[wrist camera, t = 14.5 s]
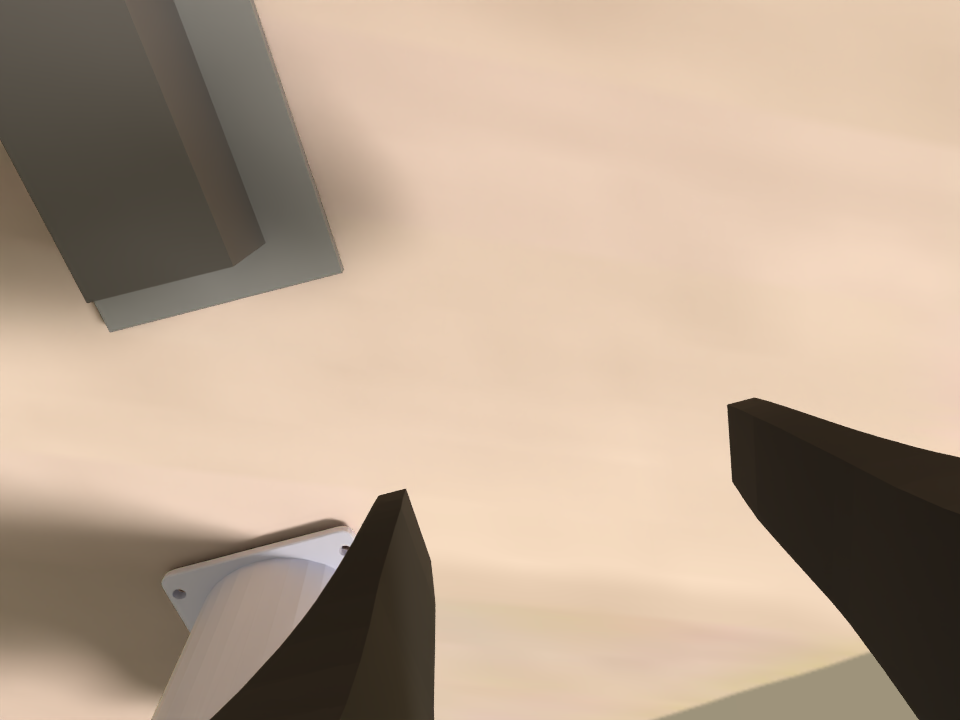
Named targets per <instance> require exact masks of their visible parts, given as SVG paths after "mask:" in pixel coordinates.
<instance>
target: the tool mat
mask: <svg viewBox="0 0 960 720" xmlns="http://www.w3.org/2000/svg"><path fill="white" fill-rule="evenodd" d="M174 2H175V5H176V8H177V10H178V13H179V16H180V18H181V21H182V24H183V26H184V29H185V31H186V34H187V37H188V39H189V42H190V45H191V47H192V50H193V53H194V55H195V58H196V60H197V63H198V66H199V68H200V71H201V74H202V76H203V79H204V82H205V84H206V87H207V89H208V92H209V95H210V97H211V100H212V103H213V105H214V108H215V111H216V113H217V116H218V118H219V121H220V124H221V126H222V129H223V132H224V134H225V137H226V140H227V142H228V145H229V147H230V150H231V153H232V155H233V158H234V161H235V163H236V166H237V169H238V171H239V174H240V176H241V179H242V182H243V184H244V187H245V190H246V192H247V195H248V198H249V200H250V203H251V205H252V208H253V211H254V213H255V216H256V219H257V221H258V224H259V226H260V229H261V232H262V234H263V237H264V240H265V242H266V243H265V244H264V245H262V246H261V247H260V248H258V249H257V250H256V251H254V252H253V253H252V254H250V255H249V256H247V257H246V258H245V259H243V260H242V261H241V262H239V263H238V264H236V265H235V266H234V267H230V268H226V269H222V270H218V271H214V272H210V273H206V274H202V275H198V276H194V277H190V278H186V279H182V280H178V281H174V282H170V283H166V284H162V285H158V286H154V287H150V288H146V289H142V290H138V291H134V292H130V293H126V294H122V295H118V296H114V297H110V298H106V299H102V300H98V301H94V303H95V305H96V307H97V309H98V311H99V313H100V315H101V317H102V318H103V320H104V322H105V324H106V326H107V328H108V330H109V332H114V331H118V330H122V329H125V328H129V327H133V326H137V325H141V324H145V323H149V322H153V321H157V320H161V319H164V318H168V317H172V316H176V315H180V314H184V313H188V312H192V311H196V310H199V309H203V308H207V307H211V306H215V305H219V304H223V303H227V302H231V301H234V300H238V299H242V298H246V297H250V296H254V295H258V294H262V293H266V292H270V291H273V290H277V289H281V288H285V287H289V286H293V285H297V284H301V283H305V282H308V281H312V280H316V279H320V278H324V277H328V276H332V275H336V274H340V273H342V272H343V270H344V268H343V265H342V263H341V260H340V257H339V254H338V251H337V248H336V245H335V242H334V239H333V236H332V233H331V230H330V227H329V224H328V221H327V218H326V215H325V212H324V209H323V206H322V203H321V200H320V197H319V194H318V191H317V188H316V185H315V182H314V179H313V176H312V173H311V170H310V167H309V164H308V162H307V159H306V156H305V153H304V150H303V147H302V144H301V141H300V138H299V135H298V132H297V129H296V126H295V123H294V120H293V117H292V114H291V111H290V108H289V105H288V102H287V99H286V96H285V93H284V90H283V87H282V84H281V81H280V78H279V75H278V72H277V69H276V66H275V63H274V61H273V58H272V55H271V52H270V49H269V46H268V43H267V40H266V37H265V34H264V31H263V28H262V25H261V22H260V19H259V16H258V13H257V10H256V7H255V4H254V1H253V0H174Z"/></svg>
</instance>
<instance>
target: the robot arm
mask: <svg viewBox="0 0 960 720" xmlns="http://www.w3.org/2000/svg"><path fill="white" fill-rule="evenodd" d="M727 408H728V424H729V439H730V454H731V469H732V482H733V483H734V485H735V486H736V488H737V489H738V491H739V492H740V494H741V496H742V497H743V499H744V500H745V502H746V503H747V505H748V506H749V507H750V509H751V510H752V512H753V513H754V514H755V516H756V517H757V519H758V520H759V521H760V522H761V523H762V525H763V526H764V527H765V528H766V529H767V530H768V532H769V533H770V534H771V535H772V536H773V537H774V538H775V539H776V541H777V542H778V543H779V544H780V545H781V546H782V547H783V548H784V550H785V551H786V552H787V553H788V554H789V555H790V556H791V557H792V558H793V560H794V561H795V562H796V563H797V564H798V565H799V566H800V567H801V568H802V570H803V571H804V572H805V573H806V574H807V575H808V576H809V577H810V578H811V580H812V581H813V582H814V583H815V584H816V585H817V586H818V587H819V588H820V589H821V591H822V592H823V593H824V594H825V595H826V596H827V597H828V598H829V599H830V601H831V602H832V603H833V604H834V605H835V606H836V608H837V609H838V610H839V611H840V612H841V614H842V615H843V616H844V617H845V618H846V620H847V621H848V622H849V623H850V625H851V626H852V627H853V629H854V630H855V631H856V633H857V634H858V636H859V637H860V638H861V640H862V641H863V642H864V644H865V645H866V646H867V648H868V649H869V650H870V652H871V653H872V654H873V656H874V657H875V658H876V660H877V661H878V663H879V664H880V665H881V667H882V668H883V669H884V671H885V672H886V674H887V675H888V676H889V678H890V679H891V681H892V682H893V683H894V685H895V686H896V688H897V689H898V691H899V692H900V694H901V695H902V696H903V698H904V699H905V700H906V702H907V704H908V705H909V706H910V708H911V709H912V711H913V712H914V713H915V715H916V716H917V718H918V719H919V720H960V457H956V456H951V455H946V454H942V453H937V452H933V451H929V450H925V449H921V448H917V447H913V446H909V445H906V444H902V443H899V442H895V441H891V440H888V439H884V438H881V437H877V436H874V435H871V434H867V433H864V432H861V431H857V430H854V429H851V428H848V427H845V426H842V425H839V424H836V423H833V422H830V421H827V420H824V419H821V418H818V417H815V416H812V415H809V414H806V413H803V412H800V411H797V410H794V409H791V408H788V407H785V406H782V405H779V404H775V403H772V402H769V401H765V400H762V399H758V398H751V399H747V400H744V401H740V402H736V403H732V404H728V405H727ZM342 546H349V549H343V548H342ZM161 585H162V588H163V589H164V591H165V593H166V594H167V596H168V598H169V599H170V601H171V602H172V604H173V606H174V607H175V609H176V611H177V612H178V614H179V616H180V617H181V619H182V621H183V622H184V624H185V625H186V627H187V629H188V630H189V632H190V635H189V637H188V639H187V641H186V644H185V646H184V648H183V650H182V653H181V655H180V657H179V659H178V661H177V664H176V666H175V668H174V670H173V672H172V675H171V677H170V679H169V681H168V684H167V686H166V688H165V690H164V692H163V695H162V697H161V699H160V701H159V703H158V706H157V708H156V710H155V712H154V715H153V717H152V719H151V720H434V666H435V595H434V585H433V576H432V567H431V560H430V557H429V554H428V551H427V548H426V545H425V542H424V540H423V537H422V534H421V531H420V528H419V525H418V522H417V519H416V516H415V514H414V511H413V508H412V505H411V502H410V499H409V496H408V493H407V491H406V489H403V490H399V491H395V492H391V493H387V494H383V495H380V496H378V498H377V499H376V501H375V502H374V504H373V506H372V508H371V510H370V511H369V513H368V515H367V517H366V519H365V521H364V522H363V524H362V526H361V528H360V530H359V532H358V533H357V535H355V533H354V531H353V530H352V529H351V528H349V527H347V526H338V527H334V528H330V529H326V530H323V531H319V532H315V533H311V534H307V535H303V536H300V537H296V538H292V539H288V540H284V541H281V542H277V543H273V544H269V545H265V546H261V547H258V548H254V549H250V550H246V551H242V552H238V553H235V554H231V555H227V556H223V557H219V558H215V559H212V560H208V561H204V562H200V563H196V564H193V565H189V566H185V567H181V568H177V569H173V570H171V571H168V572H167V573H166V574H165V576H164V578H163V579H162V583H161ZM178 589H181V590H183V591H185V592H181V591H179V590H178Z"/></svg>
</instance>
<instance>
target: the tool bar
mask: <svg viewBox="0 0 960 720" xmlns="http://www.w3.org/2000/svg"><path fill="white" fill-rule="evenodd" d="M0 140H1V142H2V143H3V145H4V147H5V149H6V151H7V153H8V155H9V157H10V159H11V160H12V162H13V164H14V166H15V168H16V170H17V172H18V174H19V176H20V178H21V179H22V181H23V183H24V185H25V187H26V189H27V191H28V193H29V195H30V196H31V198H32V200H33V202H34V204H35V206H36V208H37V210H38V212H39V213H40V215H41V217H42V219H43V221H44V223H45V225H46V227H47V229H48V230H49V232H50V234H51V236H52V238H53V240H54V242H55V244H56V246H57V247H58V249H59V251H60V253H61V255H62V257H63V259H64V261H65V263H66V264H67V266H68V268H69V270H70V272H71V274H72V276H73V278H74V280H75V282H76V283H77V285H78V287H79V289H80V291H81V293H82V295H83V297H84V299H85V300H86V302H87V303H90V302H94V301H98V300H102V299H106V298H110V297H114V296H118V295H122V294H126V293H130V292H134V291H138V290H142V289H146V288H150V287H154V286H158V285H162V284H166V283H170V282H174V281H178V280H182V279H186V278H190V277H194V276H198V275H202V274H206V273H210V272H214V271H218V270H222V269H226V268H230V267H234V266H235V265H236V264H238V263H239V262H241V261H242V260H243V259H245V258H246V257H247V256H249V255H250V254H252V253H253V252H254V251H256V250H257V249H258V248H260V247H261V246H262V245H264V244H265V243H266V242H265V240H264V237H263V234H262V232H261V229H260V226H259V224H258V221H257V219H256V216H255V213H254V211H253V208H252V205H251V203H250V200H249V198H248V195H247V192H246V190H245V187H244V184H243V182H242V179H241V176H240V174H239V171H238V169H237V166H236V163H235V161H234V158H233V155H232V153H231V150H230V147H229V145H228V142H227V140H226V137H225V134H224V132H223V129H222V126H221V124H220V121H219V118H218V116H217V113H216V111H215V108H214V105H213V103H212V100H211V97H210V95H209V92H208V89H207V87H206V84H205V82H204V79H203V76H202V74H201V71H200V68H199V66H198V63H197V60H196V58H195V55H194V53H193V50H192V47H191V45H190V42H189V39H188V37H187V34H186V31H185V29H184V26H183V24H182V21H181V18H180V16H179V13H178V10H177V8H176V5H175V2H174V0H0Z"/></svg>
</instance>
